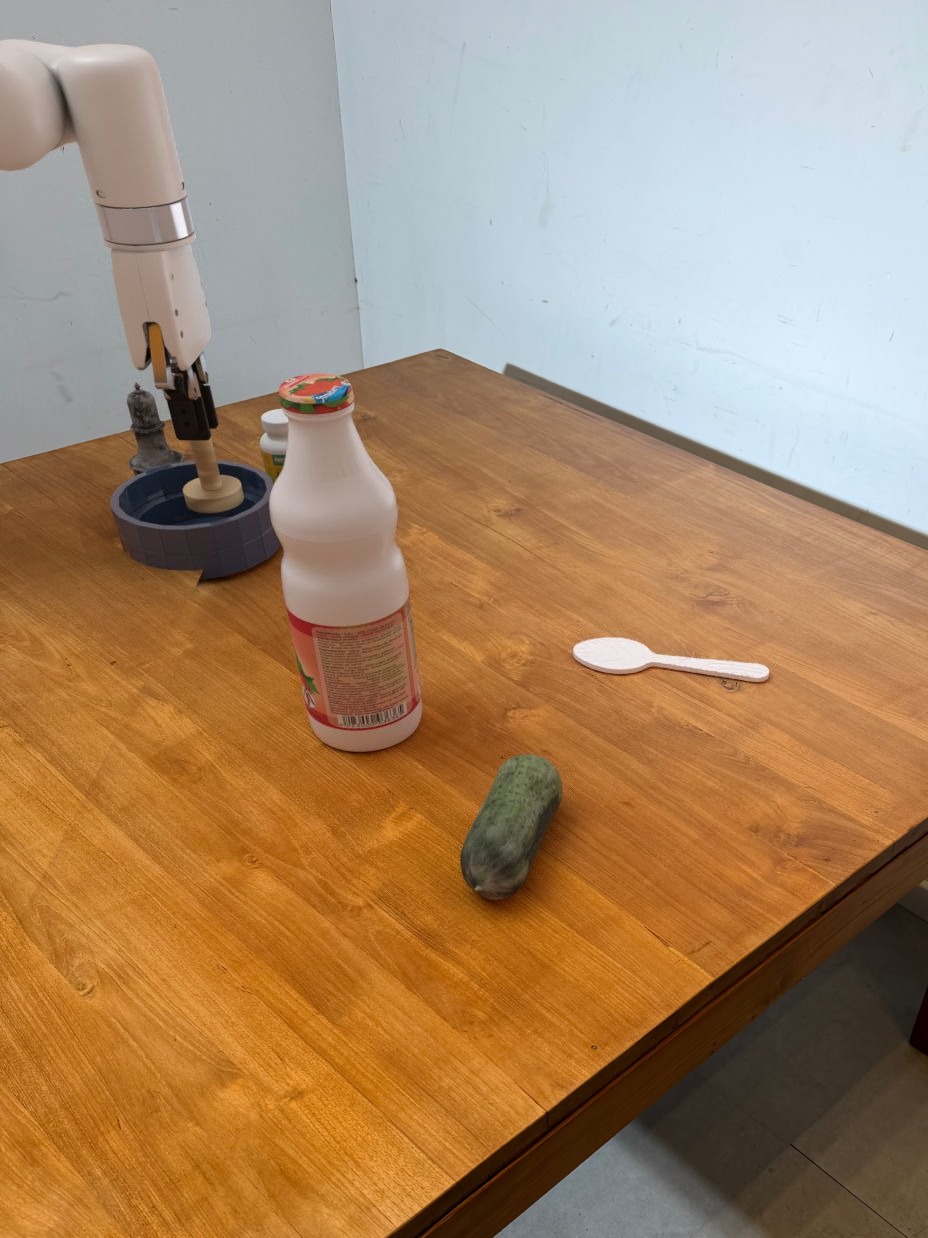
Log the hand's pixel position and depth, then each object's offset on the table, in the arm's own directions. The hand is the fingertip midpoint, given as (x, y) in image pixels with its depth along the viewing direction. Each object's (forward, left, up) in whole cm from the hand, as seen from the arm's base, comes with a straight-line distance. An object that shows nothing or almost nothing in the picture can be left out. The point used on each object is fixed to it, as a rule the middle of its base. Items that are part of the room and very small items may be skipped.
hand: (198, 432), depth 108 cm
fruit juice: (+19, -30, -12) cm, 38 cm away
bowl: (-2, 0, -12) cm, 12 cm away
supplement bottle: (+5, +11, -12) cm, 17 cm away
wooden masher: (0, 0, -7) cm, 7 cm away
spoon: (+45, -21, -12) cm, 51 cm away
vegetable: (+32, -46, -12) cm, 58 cm away
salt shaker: (-10, +13, -12) cm, 20 cm away
